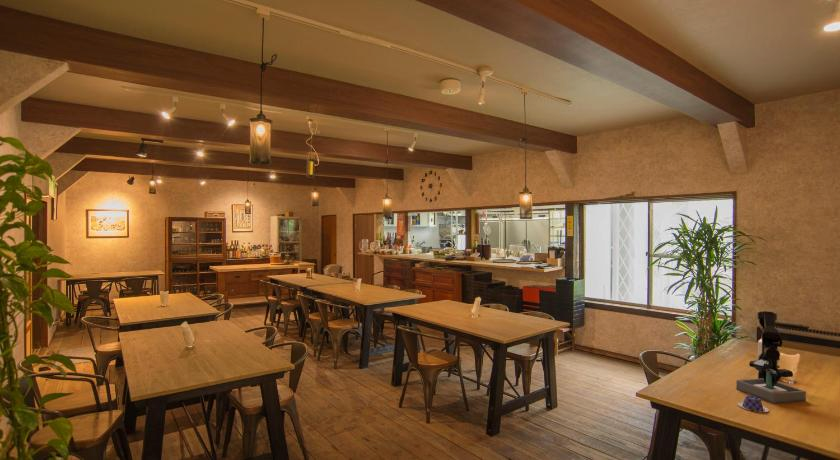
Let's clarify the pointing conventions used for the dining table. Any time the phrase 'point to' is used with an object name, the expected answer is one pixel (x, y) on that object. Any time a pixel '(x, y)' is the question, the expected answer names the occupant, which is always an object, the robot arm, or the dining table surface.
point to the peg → (769, 380)
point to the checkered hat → (753, 404)
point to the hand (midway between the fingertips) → (770, 385)
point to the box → (771, 391)
